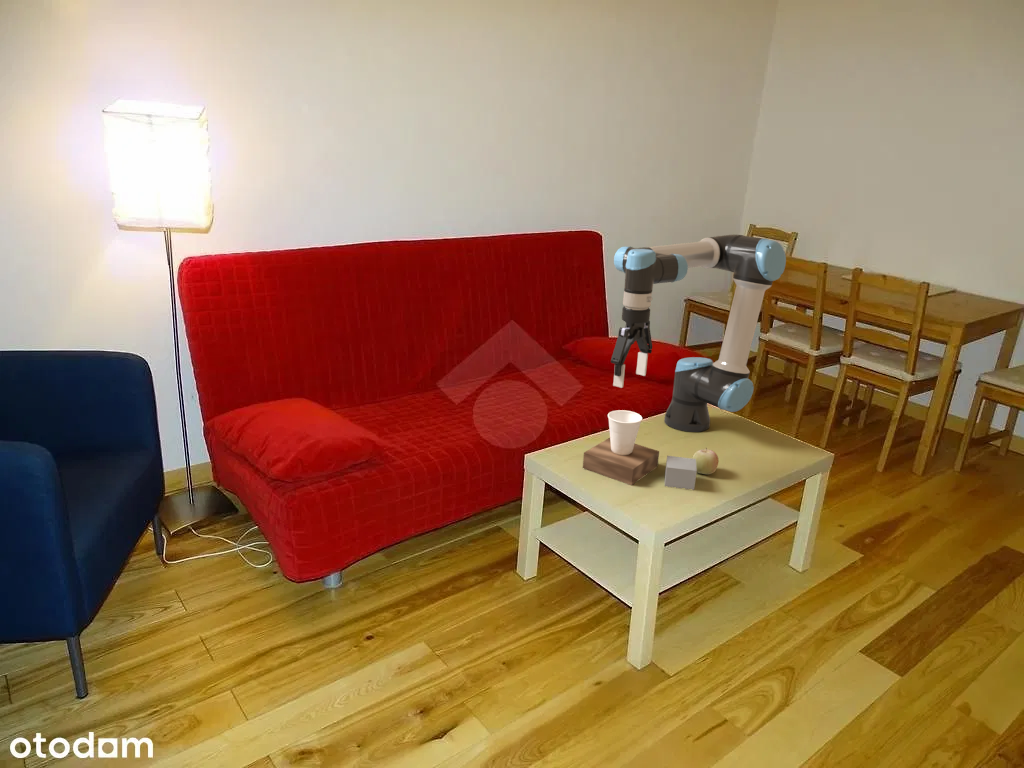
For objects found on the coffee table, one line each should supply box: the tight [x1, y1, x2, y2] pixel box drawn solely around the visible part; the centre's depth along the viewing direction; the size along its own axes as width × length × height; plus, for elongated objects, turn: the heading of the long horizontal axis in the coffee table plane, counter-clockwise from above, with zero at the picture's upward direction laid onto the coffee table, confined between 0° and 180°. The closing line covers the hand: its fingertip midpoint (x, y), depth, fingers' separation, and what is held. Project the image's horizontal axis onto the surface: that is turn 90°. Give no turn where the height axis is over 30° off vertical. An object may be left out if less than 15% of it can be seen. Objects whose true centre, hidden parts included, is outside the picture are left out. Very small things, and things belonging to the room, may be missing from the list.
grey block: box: [664, 455, 698, 491], centre depth 201 cm, size 8×8×6 cm
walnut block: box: [582, 437, 660, 486], centre depth 208 cm, size 16×16×5 cm
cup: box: [607, 409, 643, 455], centre depth 206 cm, size 10×10×11 cm
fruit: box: [691, 447, 719, 475], centre depth 207 cm, size 8×7×8 cm
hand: (629, 380), depth 202 cm, fingers open, 13 cm apart
